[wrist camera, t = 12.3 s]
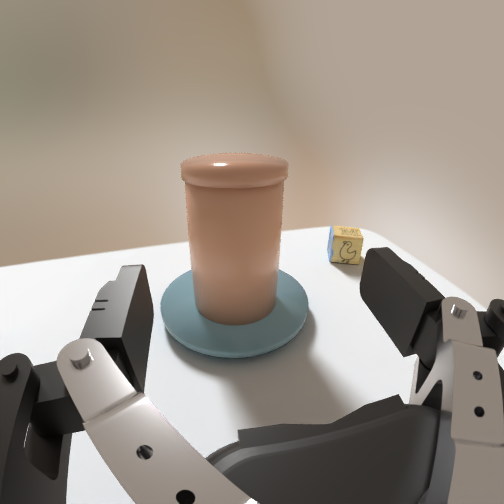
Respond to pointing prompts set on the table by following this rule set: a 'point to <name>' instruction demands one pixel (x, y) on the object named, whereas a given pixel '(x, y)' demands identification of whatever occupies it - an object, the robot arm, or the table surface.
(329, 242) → the alphabet block
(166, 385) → the table surface
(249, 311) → the dome-topped peach cylinder
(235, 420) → the table surface
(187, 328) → the blue-grey round disc
